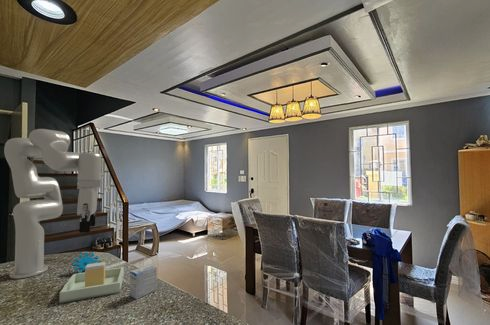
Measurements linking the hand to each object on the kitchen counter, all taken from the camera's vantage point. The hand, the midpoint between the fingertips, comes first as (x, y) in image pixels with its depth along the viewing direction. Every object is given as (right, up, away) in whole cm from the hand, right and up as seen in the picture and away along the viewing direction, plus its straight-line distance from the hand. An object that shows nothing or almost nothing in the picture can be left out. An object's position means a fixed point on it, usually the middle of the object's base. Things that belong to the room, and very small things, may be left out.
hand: (87, 229), depth 92 cm
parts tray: (+4, -22, -1) cm, 22 cm away
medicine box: (+24, -22, -6) cm, 33 cm away
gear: (-9, -23, +14) cm, 29 cm away
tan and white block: (+4, -21, -1) cm, 22 cm away
